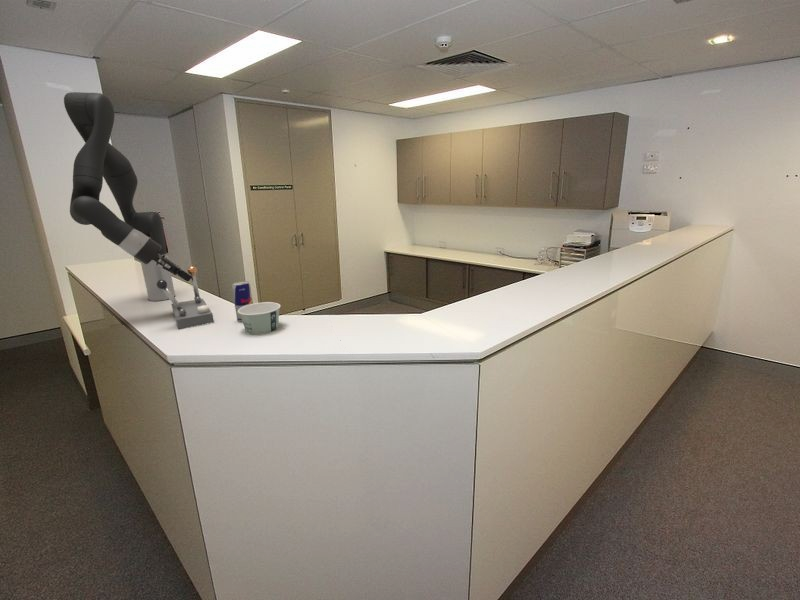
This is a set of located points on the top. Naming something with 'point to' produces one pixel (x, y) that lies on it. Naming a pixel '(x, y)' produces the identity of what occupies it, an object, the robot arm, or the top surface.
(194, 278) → the orange knob lever
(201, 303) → the control panel
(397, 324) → the top surface
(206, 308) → the push button
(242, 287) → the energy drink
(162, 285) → the black knob lever
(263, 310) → the food container
